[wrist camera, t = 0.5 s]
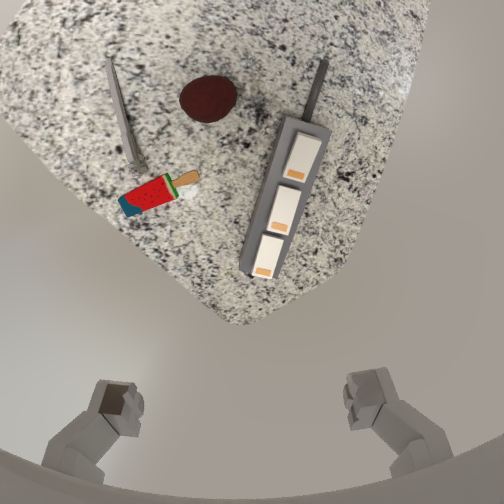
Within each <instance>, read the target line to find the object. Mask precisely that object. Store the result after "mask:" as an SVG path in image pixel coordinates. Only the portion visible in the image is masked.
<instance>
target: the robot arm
mask: <svg viewBox="0 0 504 504" xmlns="http://www.w3.org/2000/svg"><path fill="white" fill-rule="evenodd" d="M136 390H137V387H136V385H135V384H134V383H131V382H119V381H111V380H99V381H98V382H97V384H96V387H95V389H94V392H93V395H92V398H91V401H90V403H89V407H88V410H87V411H83V412H82V413H81V414H80V415H79V416H77V417H76V418H75V419H74V420H73V421H72V422H70V423H69V424H68V425H67V426H66V427H65V428H63V429H62V430H61V431H60V432H59V433H58V434H56V435H55V436H54V437H53V438H52V439H51V440H50V441H49V443H48V446H47V448H46V452H45V455H44V458H43V461H42V464H41V465H38V464H35V463H33V462H30V461H28V460H25V459H23V458H20V457H18V456H16V455H13V454H11V453H9V452H7V451H4V450H2V449H0V504H504V434H502V435H500V436H498V437H497V438H494V439H492V440H490V441H488V442H486V443H484V444H482V445H480V446H478V447H476V448H473V449H471V450H469V451H467V452H464V453H462V454H460V455H457V456H455V457H454V456H453V453H452V450H451V447H450V445H449V442H448V440H447V437H446V434H445V431H444V430H443V429H442V428H440V427H439V426H438V425H436V424H435V423H434V422H432V421H431V420H429V419H428V418H427V417H426V416H424V415H423V414H421V413H420V412H419V411H417V410H416V409H415V408H413V407H412V406H411V405H409V404H408V403H407V402H405V401H404V400H399V397H398V394H397V392H396V389H395V386H394V384H393V381H392V379H391V376H390V374H389V371H388V369H387V368H386V367H382V368H378V369H370V370H365V371H360V372H353V373H349V374H348V375H347V384H346V385H345V386H344V390H343V397H344V404H345V407H346V408H347V409H348V410H349V414H348V421H349V424H350V429H351V431H352V430H359V429H365V428H370V427H372V428H371V429H372V430H374V432H375V433H377V434H378V436H379V437H380V438H381V439H383V440H384V442H386V443H387V444H388V445H389V446H390V447H391V448H392V449H393V450H394V451H395V452H396V453H397V454H398V455H399V457H398V458H397V459H396V460H395V461H394V462H393V464H392V465H391V466H390V471H391V476H392V478H391V479H387V480H383V481H379V482H375V483H372V484H367V485H363V486H358V487H353V488H349V489H343V490H337V491H332V492H325V493H318V494H311V495H303V496H294V497H282V498H267V499H203V498H188V497H177V496H168V495H160V494H152V493H145V492H139V491H134V490H128V489H122V488H118V487H113V486H109V485H104V484H103V481H104V475H105V474H104V472H103V471H102V470H101V469H99V468H98V467H97V466H95V465H96V463H97V462H98V461H99V460H100V459H101V458H102V457H103V455H104V454H105V453H106V452H107V451H108V450H109V448H110V447H111V446H112V445H113V444H114V443H115V441H117V439H118V438H119V437H120V436H130V437H138V435H139V431H140V426H141V423H140V421H139V418H140V417H141V416H142V415H143V412H144V400H143V397H142V395H141V394H140V393H139V392H137V391H136ZM119 435H120V436H119Z"/></svg>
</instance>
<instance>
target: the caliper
mask: <svg viewBox="0 0 504 504" xmlns="http://www.w3.org/2000/svg"><path fill="white" fill-rule="evenodd" d="M106 73H107V77H108V82H109V86H110V91H111V95H112V99H113V103H114V107H115V111H116V115H117V119H118V123H119V127H120V130H121V134H122V135H121V138H122V142H123V146H124V149H125V153H126V156H127V160H128V162H129V163H130V164H129V165H127V167H128V168H129V169H131V170H130V171H129V174H130V173H132V176H133V177H134V176H140V175H142V174H144V173H145V172H146V171H147V170H148V166H146V167H140V164H139V161H142V160H144V159H145V158H144V156H142V155H141V154H139V153H137V150H136V143H135V140H134V136H133V133H131V132H130V128H129V125H128V121H127V117H126V113H125V109H124V105H123V102H122V97H121V93H120V89H119V85H118V81H117V76H116V72H115V69H114V66H113V64H112V59H110V60H108V61H106Z"/></svg>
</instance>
